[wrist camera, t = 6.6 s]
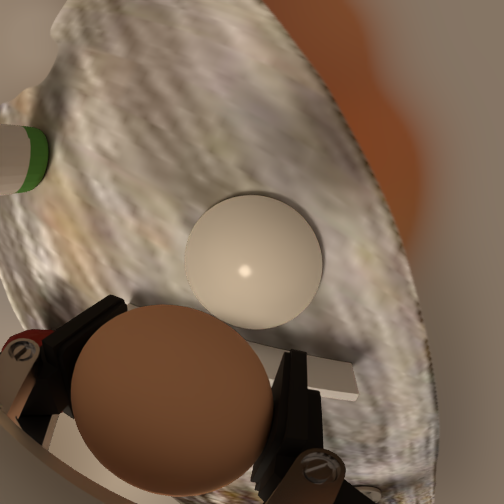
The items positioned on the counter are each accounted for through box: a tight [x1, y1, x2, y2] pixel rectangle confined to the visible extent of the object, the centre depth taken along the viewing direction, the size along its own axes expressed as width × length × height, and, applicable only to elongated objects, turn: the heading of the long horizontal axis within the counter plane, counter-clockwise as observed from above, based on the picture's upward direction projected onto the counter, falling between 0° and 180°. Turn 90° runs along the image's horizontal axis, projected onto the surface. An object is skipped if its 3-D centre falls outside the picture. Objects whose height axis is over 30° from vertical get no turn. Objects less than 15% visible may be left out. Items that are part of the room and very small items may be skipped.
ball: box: [71, 305, 274, 497], centre depth 7 cm, size 6×6×6 cm
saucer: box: [185, 195, 322, 329], centre depth 22 cm, size 11×11×1 cm
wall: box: [127, 304, 359, 401], centre depth 22 cm, size 22×1×4 cm, turn 78°
